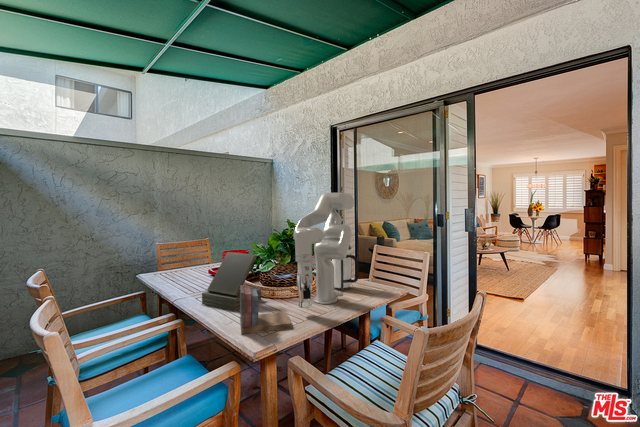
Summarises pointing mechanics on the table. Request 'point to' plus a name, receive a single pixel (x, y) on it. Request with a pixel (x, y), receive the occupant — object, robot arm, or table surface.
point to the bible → (229, 282)
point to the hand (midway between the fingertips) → (304, 295)
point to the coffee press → (345, 271)
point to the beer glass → (302, 302)
